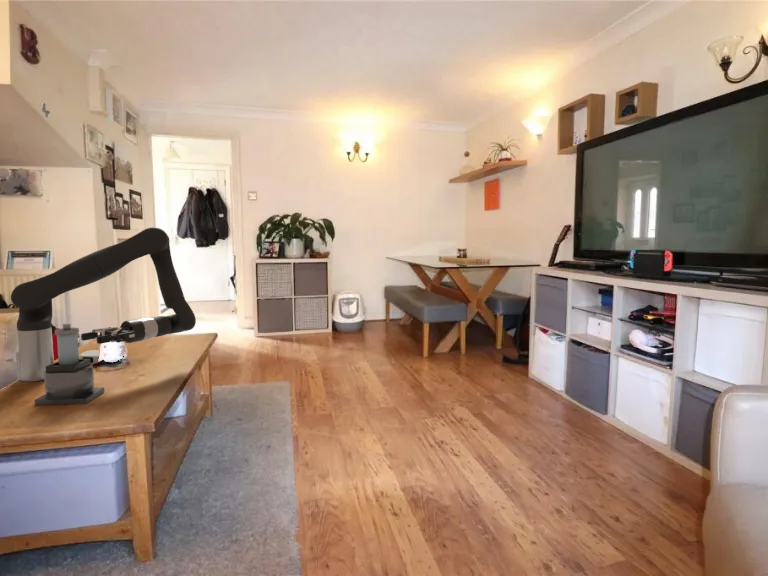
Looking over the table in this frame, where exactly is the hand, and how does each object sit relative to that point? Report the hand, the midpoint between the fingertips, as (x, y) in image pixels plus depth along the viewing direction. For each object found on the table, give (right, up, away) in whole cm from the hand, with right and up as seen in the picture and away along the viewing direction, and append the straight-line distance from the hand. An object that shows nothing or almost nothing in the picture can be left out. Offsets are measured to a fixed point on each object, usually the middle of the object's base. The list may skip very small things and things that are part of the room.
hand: (89, 338), depth 138 cm
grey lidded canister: (-3, -9, -4) cm, 10 cm away
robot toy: (-18, -14, +35) cm, 41 cm away
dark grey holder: (-3, -17, -4) cm, 18 cm away
